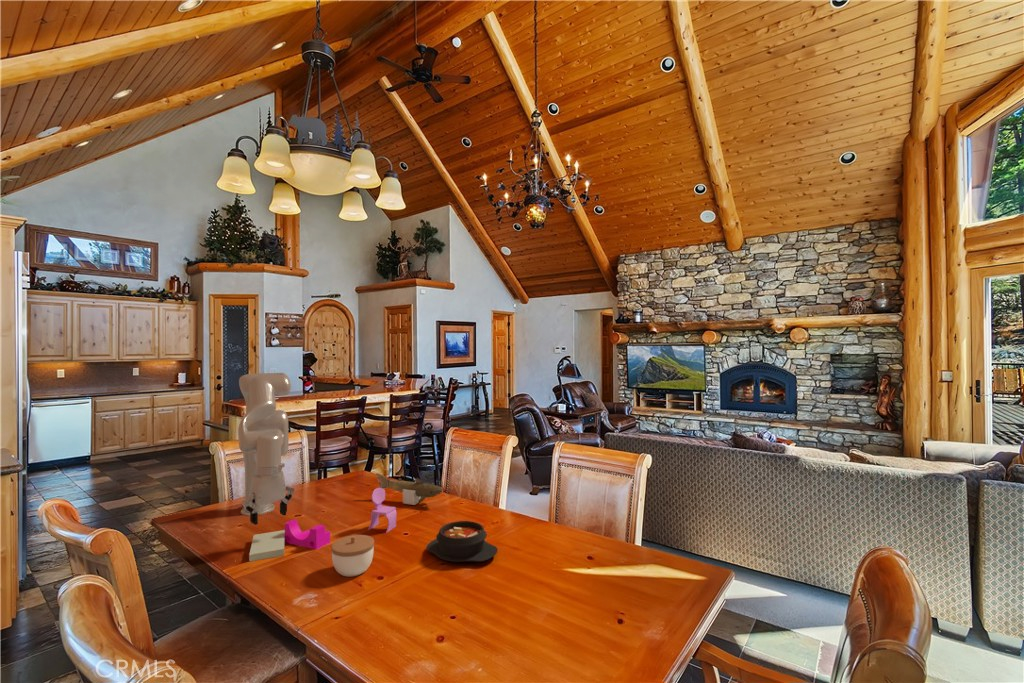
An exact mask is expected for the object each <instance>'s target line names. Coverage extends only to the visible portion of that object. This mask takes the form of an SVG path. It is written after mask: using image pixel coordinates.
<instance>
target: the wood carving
mask: <svg viewBox="0 0 1024 683" xmlns="http://www.w3.org/2000/svg"><path fill="white" fill-rule="evenodd" d="M375 475H376V480H377V481H378V485H379V488H383V489H392V490H394V491H397V492H399V493H402V504H405V505H410V506H411V505H412V506H415V505H417V504H418V503H422V502H423V501H424V500H425V499H426V498H434V497H436V496H437V495H440V494H441V493H442V492H443V489H444V488H443V487H441V486H439V485H435V484H432V483H428V482H427V483H426V482H423V481H422V480H421V478H419V477H415V481H407V480H403V479H402V478H401V477H399V478H398V479H397V480H396V479H392V478H391V479H389V478H387V477H386V476H385V475H383V474H381V473H378V472H376V474H375Z"/></svg>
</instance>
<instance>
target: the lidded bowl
mask: <svg viewBox="0 0 1024 683" xmlns="http://www.w3.org/2000/svg"><path fill="white" fill-rule="evenodd" d="M330 547H331V559H332V565H333V567H334V569H335V571H336V572H337V573H338V574H340V575H341V576H343V577H349V578H351V577H356V576H359V575H362V574H363V573H365V572H366V571H367V569H368V568H369V567H370V565H371V563H372V562H373V558H374V552H375V550H374V547H375V539H374V537H372V536H370V535H366V534H354V535H353V534H352V535H348V536H344V537H342V538H339V539H337V540H336V541H334V542H333V543H332V544H331V546H330Z"/></svg>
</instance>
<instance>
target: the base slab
mask: <svg viewBox="0 0 1024 683" xmlns="http://www.w3.org/2000/svg"><path fill="white" fill-rule="evenodd" d="M285 544H286V542H285V529H282V530H277V531H270V532H263V533H257V534H253V537H252V541H251V545H250V551H249V554H248V559H249V560H248V562H255V561H260V560H266V559H274V558H280V557H284V556H285Z"/></svg>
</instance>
